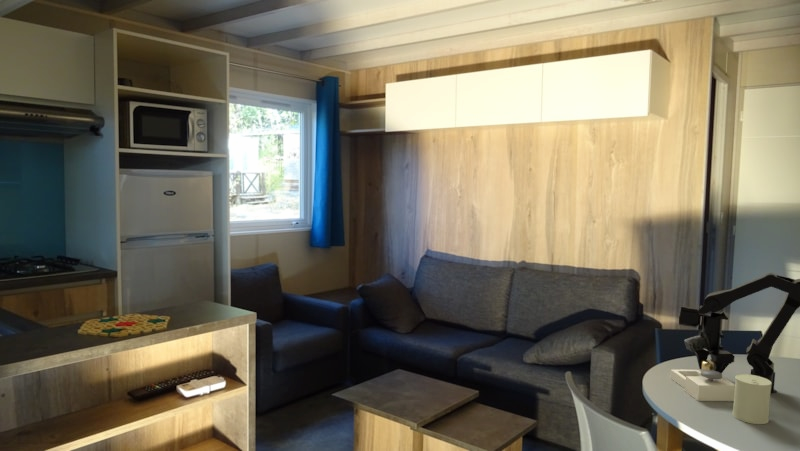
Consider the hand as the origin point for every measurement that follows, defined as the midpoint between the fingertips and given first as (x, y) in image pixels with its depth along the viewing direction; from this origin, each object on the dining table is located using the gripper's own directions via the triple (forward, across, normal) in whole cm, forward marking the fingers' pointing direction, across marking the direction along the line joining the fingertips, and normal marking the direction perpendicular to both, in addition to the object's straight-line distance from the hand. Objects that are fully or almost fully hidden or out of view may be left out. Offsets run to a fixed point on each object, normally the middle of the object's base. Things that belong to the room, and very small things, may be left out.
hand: (708, 373), depth 203 cm
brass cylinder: (+2, 0, 0) cm, 2 cm away
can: (+2, +31, -5) cm, 31 cm away
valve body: (+2, +9, -8) cm, 12 cm away
